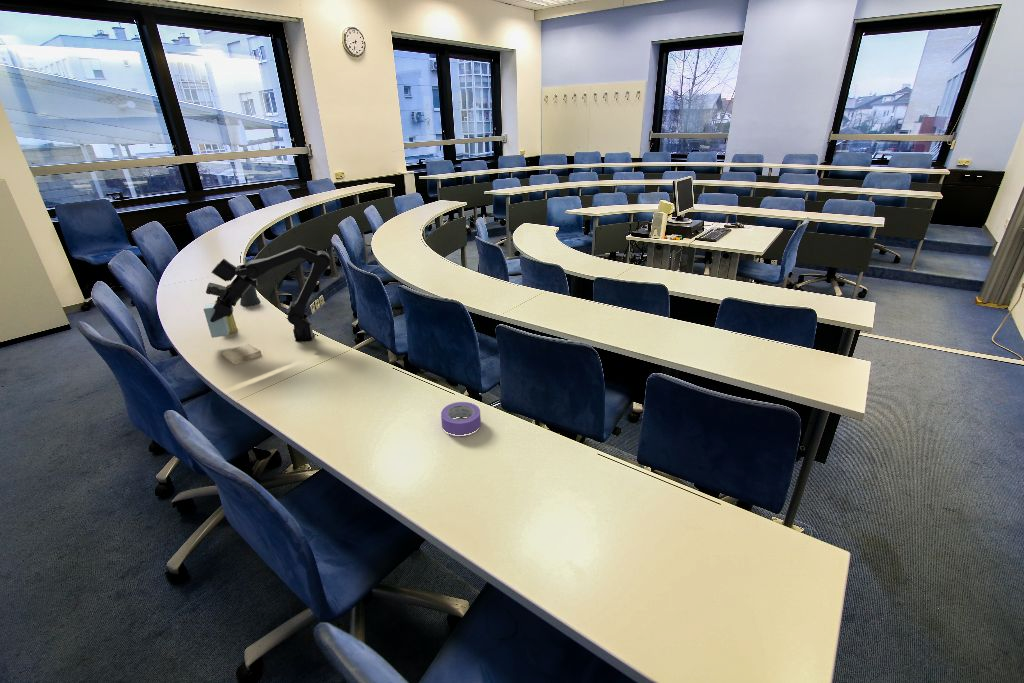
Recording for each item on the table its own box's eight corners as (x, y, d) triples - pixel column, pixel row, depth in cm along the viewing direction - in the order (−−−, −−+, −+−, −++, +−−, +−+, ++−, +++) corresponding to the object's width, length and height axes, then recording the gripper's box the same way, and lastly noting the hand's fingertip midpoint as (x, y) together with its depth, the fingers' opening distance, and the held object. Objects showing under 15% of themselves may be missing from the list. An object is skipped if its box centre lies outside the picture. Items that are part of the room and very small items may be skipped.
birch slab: (249, 348, 186) (248, 343, 185) (261, 355, 180) (260, 350, 179) (222, 356, 178) (221, 352, 178) (234, 364, 173) (233, 359, 172)
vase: (234, 327, 207) (226, 296, 201) (240, 330, 204) (232, 300, 198) (219, 331, 203) (210, 300, 197) (225, 335, 200) (216, 303, 194)
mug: (262, 304, 234) (257, 282, 229) (241, 307, 229) (236, 285, 225) (257, 297, 243) (252, 276, 238) (237, 300, 238) (232, 279, 233)
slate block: (229, 330, 188) (221, 302, 182) (227, 335, 183) (220, 306, 178) (213, 332, 186) (205, 304, 180) (211, 337, 181) (203, 308, 176)
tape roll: (434, 425, 142) (433, 411, 140) (463, 410, 150) (463, 397, 147) (458, 442, 134) (457, 428, 132) (488, 426, 142) (488, 412, 140)
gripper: (220, 269, 184) (195, 299, 184) (213, 282, 168) (186, 315, 169) (247, 286, 190) (223, 315, 190) (243, 300, 174) (217, 332, 175)
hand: (212, 318), depth 181 cm, fingers closed on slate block, 5 cm apart
